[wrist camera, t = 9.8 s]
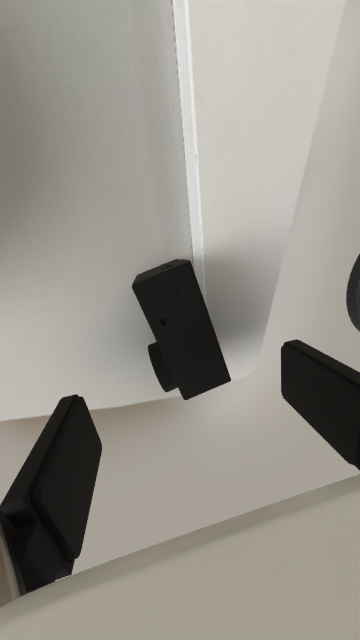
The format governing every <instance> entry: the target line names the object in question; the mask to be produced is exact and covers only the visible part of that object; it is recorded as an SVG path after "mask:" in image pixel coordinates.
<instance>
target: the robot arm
mask: <svg viewBox="0 0 360 640" xmlns="http://www.w3.org/2000/svg"><path fill="white" fill-rule="evenodd" d="M281 392H282V395H283V398H284V399H285V400H286V401H287V402H288V403H289V404H290V405H291V406H292V407H293V408H294V409H295V410H296V411H297V412H298V413H299V414H300V415H301V416H302V417H303V418H304V419H305V420H306V421H307V422H308V423H309V424H310V425H311V426H312V427H313V428H314V429H315V430H316V431H317V432H318V433H319V434H320V435H321V436H322V437H323V438H324V439H325V440H326V441H327V442H328V443H329V444H330V445H331V446H332V447H333V448H334V449H335V450H336V451H337V452H338V453H339V454H340V455H341V456H342V457H343V458H344V459H345V460H346V461H347V462H348V463H349V464H352V465H355V466H356V467H357V468H358V469H359V470H360V372H358V371H356V370H354V369H352V368H350V367H348V366H347V365H344V364H343V363H341V362H339V361H337V360H335V359H333V358H332V357H330V356H328V355H326V354H324V353H322V352H320V351H318V350H316V349H314V348H313V347H311V346H309V345H307V344H305V343H303V342H301V341H300V340H292V341H288V342H285V343H284V345H283V346H282V347H281ZM101 452H102V444H101V441H100V438H99V436H98V433H97V431H96V428H95V426H94V423H93V420H92V418H91V415H90V413H89V410H88V408H87V405H86V403H85V400H84V398H83V397H79V396H78V395H77V394H75V395H71V396H67V397H63V398H61V400H60V401H59V403H58V405H57V407H56V408H55V410H54V412H53V414H52V415H51V417H50V419H49V421H48V422H47V424H46V426H45V428H44V429H43V431H42V433H41V435H40V436H39V438H38V440H37V442H36V443H35V445H34V447H33V449H32V450H31V452H30V454H29V456H28V457H27V459H26V461H25V463H24V465H23V466H22V468H21V470H20V472H19V473H18V475H17V477H16V479H15V480H14V482H13V484H12V486H11V487H10V489H9V491H8V493H7V494H6V496H5V498H4V500H3V501H2V503H1V505H0V640H360V474H359V475H356V476H353V477H350V478H347V479H344V480H341V481H339V482H336V483H333V484H329V485H326V486H324V487H321V488H318V489H315V490H312V491H309V492H306V493H303V494H300V495H297V496H294V497H291V498H288V499H285V500H283V501H280V502H277V503H274V504H271V505H268V506H265V507H262V508H259V509H257V510H254V511H251V512H248V513H245V514H242V515H239V516H236V517H233V518H231V519H228V520H225V521H222V522H219V523H216V524H213V525H210V526H208V527H205V528H202V529H199V530H196V531H193V532H190V533H187V534H185V535H182V536H179V537H176V538H173V539H170V540H168V541H165V542H162V543H159V544H156V545H153V546H151V547H148V548H145V549H142V550H139V551H136V552H134V553H131V554H128V555H125V556H122V557H119V558H117V559H114V560H111V561H109V562H106V563H103V564H101V565H98V566H95V567H93V568H90V569H88V570H85V571H82V572H79V573H77V574H74V575H71V573H72V569H73V565H74V560H75V559H76V558H78V557H79V555H80V553H81V549H82V544H83V539H84V534H85V530H86V524H87V520H88V515H89V510H90V506H91V500H92V496H93V491H94V486H95V481H96V477H97V472H98V467H99V462H100V456H101ZM69 575H71V576H69ZM66 576H69V577H66ZM62 577H66V578H64V579H61V580H58V581H55V580H57V579H60V578H62Z"/></svg>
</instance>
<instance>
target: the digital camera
mask: <svg viewBox="0 0 360 640" xmlns="http://www.w3.org/2000/svg"><path fill="white" fill-rule="evenodd" d="M132 289H133V291H134V293H135V295H136V297H137V299H138V302H139V304H140V306H141V308H142V310H143V312H144V315H145V317H146V319H147V321H148V323H149V325H150V328H151V330H152V332H153V334H154V336H155V338H156V341H157V342H155V343H153V344H150V345H148V352H149V356H150V360H151V363H152V366H153V369H154V371H155V374H156V376H157V378H158V381H159V383H160V385H161V386H162V388H163V390H164V391H165V392H169V391H171V390H173V389H175V388H179V390H180V393H181V395H182V397H183V399H184V400H188V399H190V398H192V397H194V396H197V395H199V394H202V393H204V392H206V391H209V390H211V389H213V388H216V387H218V386H220V385H223V384H225V383H227V382H230V381H231V378H230V375H229V372H228V369H227V366H226V363H225V360H224V358H223V355H222V352H221V349H220V346H219V343H218V340H217V337H216V334H215V331H214V328H213V325H212V323H211V320H210V317H209V314H208V311H207V308H206V305H205V302H204V299H203V296H202V293H201V291H200V288H199V285H198V282H197V279H196V276H195V273H194V270H193V267H192V264H191V262H190V261H189V260H178V259H176V260H173V261H171V262H168V263H165V264H162V265H160V266H158V267H156V268H153V269H151V270H148V271H146V272H143V273H141V274H138V275H137V276H136V278H135V280H134V282H133V284H132Z"/></svg>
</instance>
